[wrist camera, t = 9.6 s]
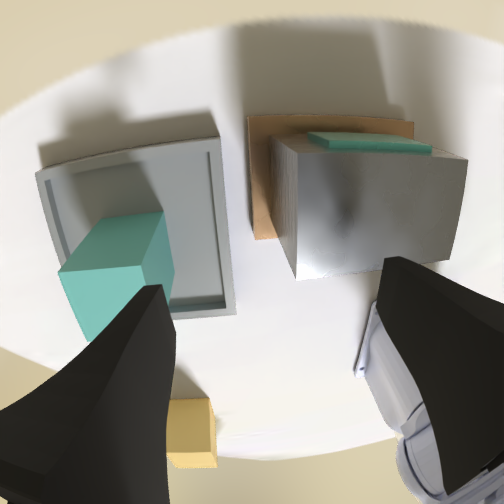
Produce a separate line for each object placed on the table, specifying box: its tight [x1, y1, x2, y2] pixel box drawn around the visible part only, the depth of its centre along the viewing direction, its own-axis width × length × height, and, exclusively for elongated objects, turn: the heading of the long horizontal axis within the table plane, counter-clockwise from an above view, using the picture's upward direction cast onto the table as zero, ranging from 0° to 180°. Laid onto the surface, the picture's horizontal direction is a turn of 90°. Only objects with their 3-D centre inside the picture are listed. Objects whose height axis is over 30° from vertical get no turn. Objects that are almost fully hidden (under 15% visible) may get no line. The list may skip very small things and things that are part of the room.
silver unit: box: [247, 115, 468, 281], centre depth 14 cm, size 7×10×7 cm
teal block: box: [58, 211, 175, 342], centre depth 15 cm, size 4×4×6 cm
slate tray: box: [35, 136, 237, 320], centre depth 17 cm, size 11×11×2 cm
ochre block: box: [166, 398, 218, 468], centre depth 24 cm, size 4×4×6 cm
